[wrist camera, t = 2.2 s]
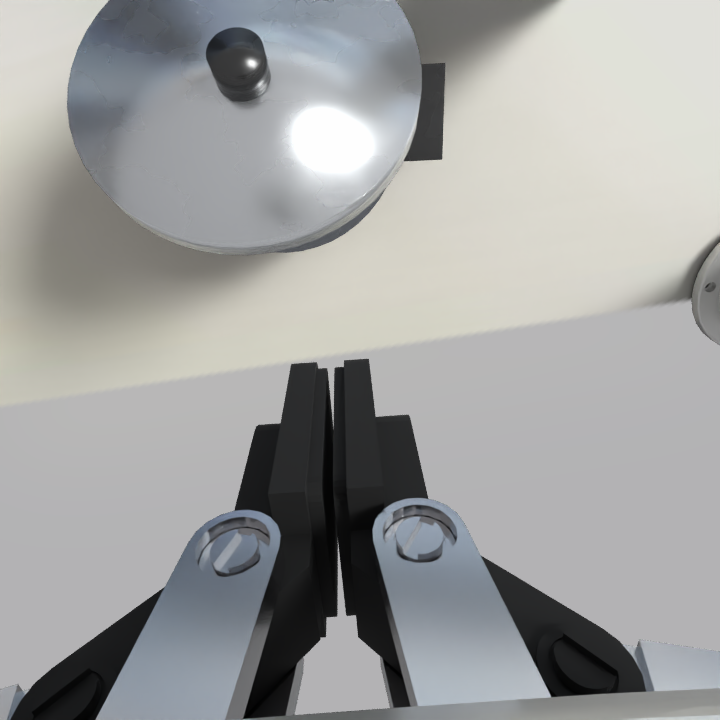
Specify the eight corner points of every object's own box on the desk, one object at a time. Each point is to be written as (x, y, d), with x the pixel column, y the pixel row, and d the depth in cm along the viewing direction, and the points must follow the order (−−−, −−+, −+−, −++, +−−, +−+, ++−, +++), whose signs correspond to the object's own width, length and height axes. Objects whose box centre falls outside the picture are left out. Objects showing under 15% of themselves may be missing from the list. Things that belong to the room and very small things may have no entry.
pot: (429, -44, 31) (453, -95, 23) (424, 216, 39) (441, 245, 31) (124, -27, 32) (45, -72, 24) (178, 227, 39) (132, 259, 31)
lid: (409, -49, 24) (413, -110, 22) (430, 247, 21) (438, 216, 18) (97, -32, 24) (65, -90, 22) (67, 263, 21) (25, 234, 19)
